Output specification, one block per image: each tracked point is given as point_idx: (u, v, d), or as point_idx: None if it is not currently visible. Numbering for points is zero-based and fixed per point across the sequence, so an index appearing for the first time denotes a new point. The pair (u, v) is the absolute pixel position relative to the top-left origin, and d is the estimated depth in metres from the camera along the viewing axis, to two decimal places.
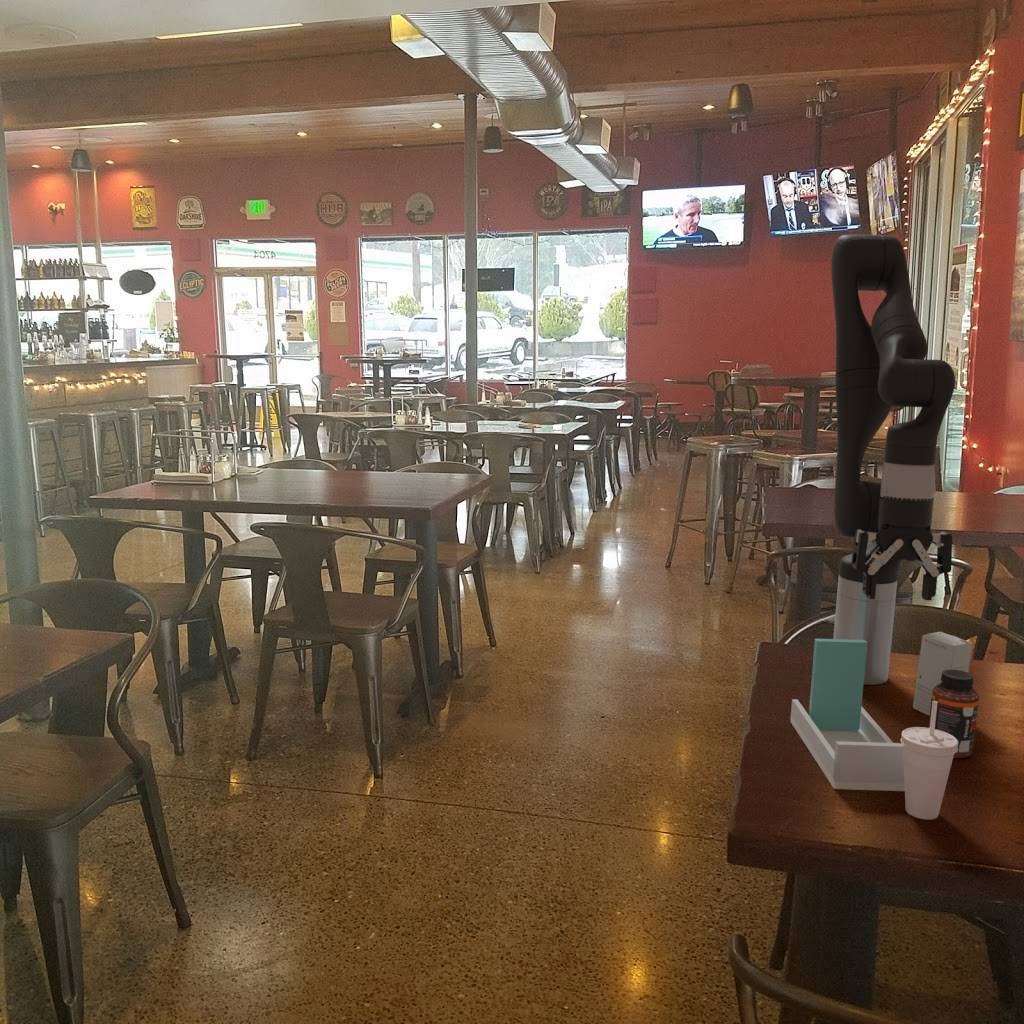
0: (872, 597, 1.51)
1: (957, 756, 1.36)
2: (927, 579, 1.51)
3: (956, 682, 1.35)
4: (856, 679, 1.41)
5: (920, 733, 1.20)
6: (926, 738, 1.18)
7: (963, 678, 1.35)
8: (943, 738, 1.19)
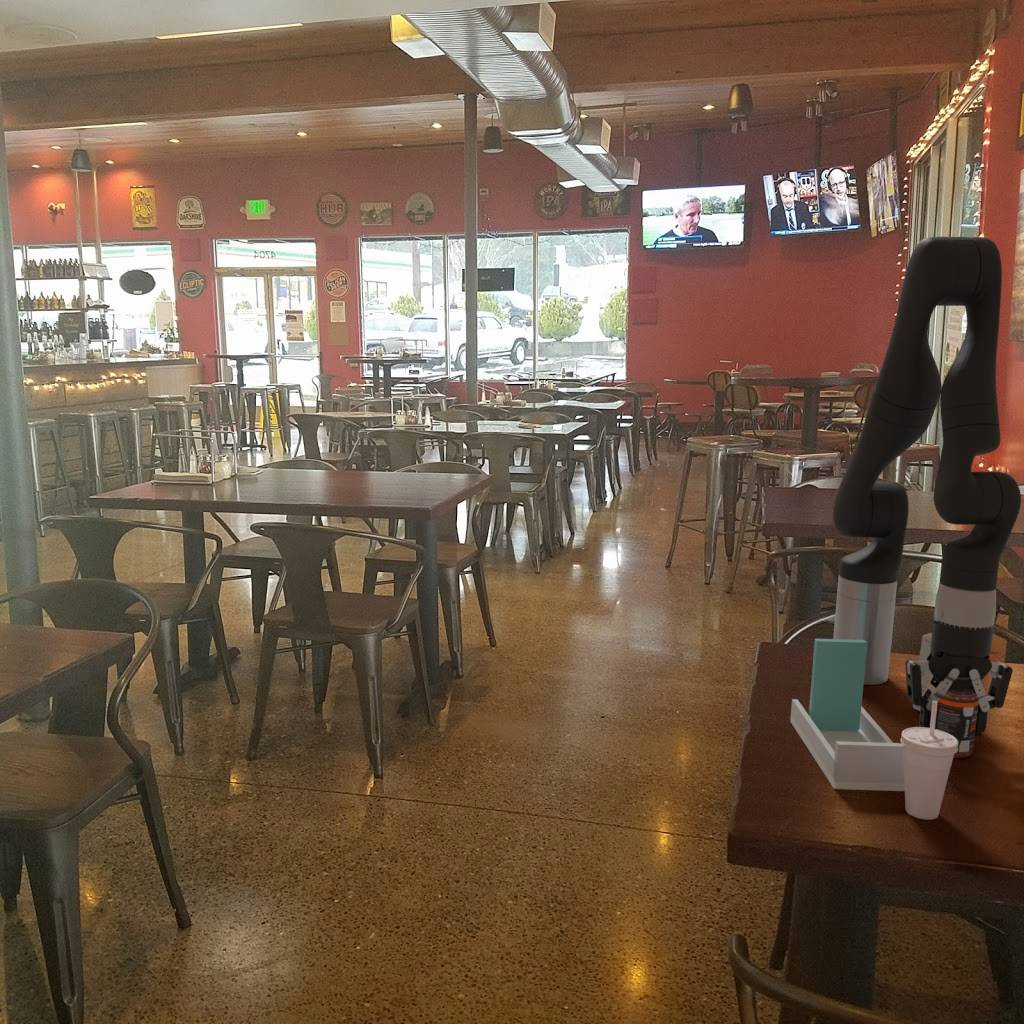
0: None
1: (957, 756, 1.36)
2: (977, 713, 1.37)
3: (956, 682, 1.35)
4: (856, 679, 1.41)
5: (920, 733, 1.20)
6: (926, 738, 1.18)
7: (963, 678, 1.35)
8: (943, 738, 1.19)
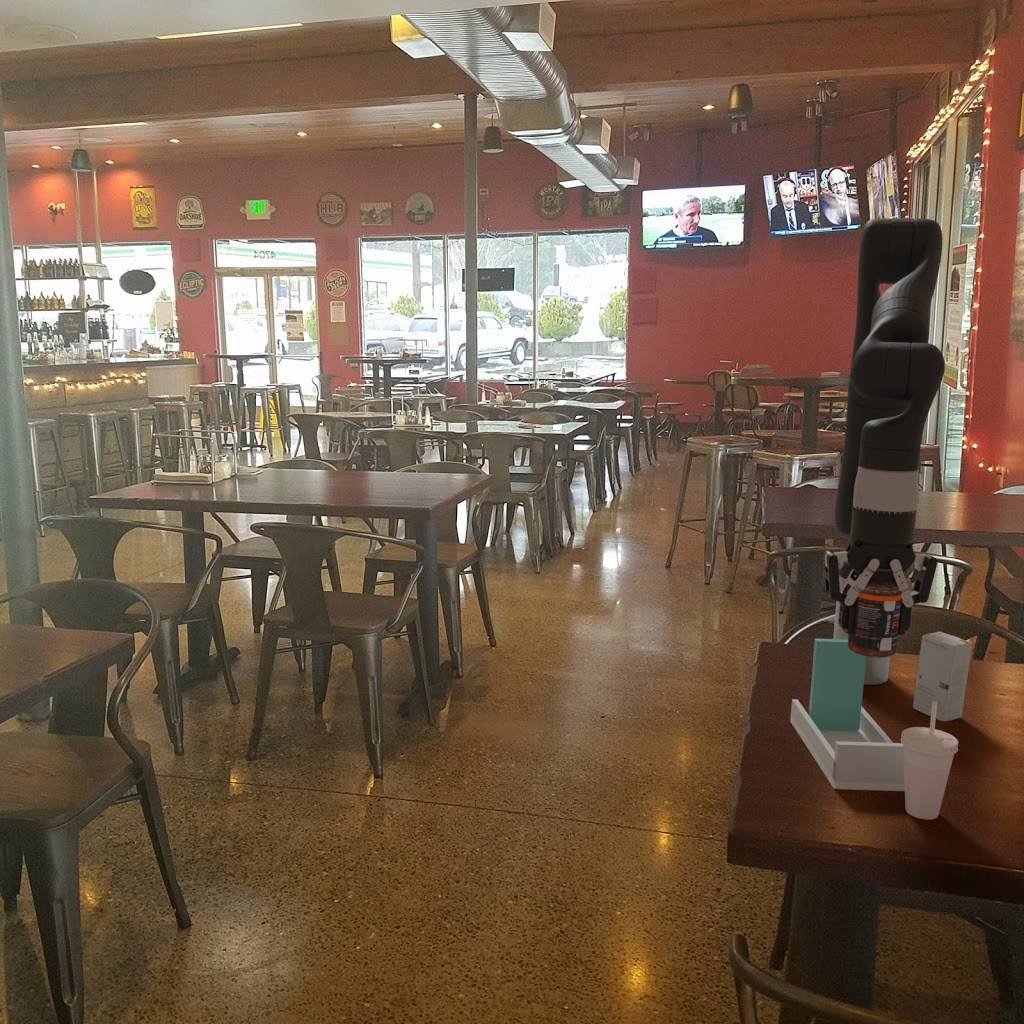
0: (849, 631, 1.27)
1: (878, 655, 1.25)
2: (900, 609, 1.26)
3: (877, 574, 1.24)
4: (856, 679, 1.41)
5: (920, 733, 1.20)
6: (926, 738, 1.18)
7: (884, 570, 1.24)
8: (943, 738, 1.19)
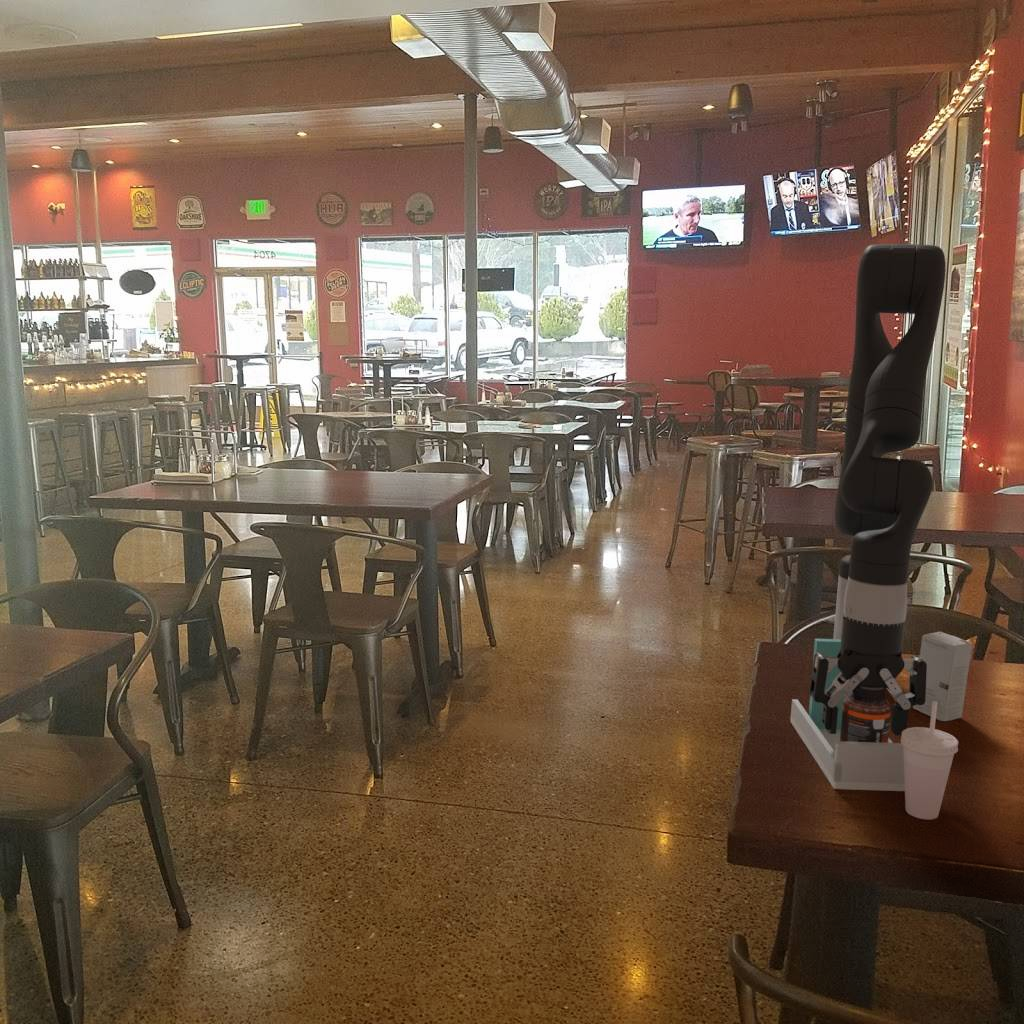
0: (832, 732, 1.29)
1: None
2: (897, 711, 1.29)
3: (866, 693, 1.27)
4: None
5: (920, 733, 1.20)
6: (926, 738, 1.18)
7: (873, 689, 1.27)
8: (943, 738, 1.19)
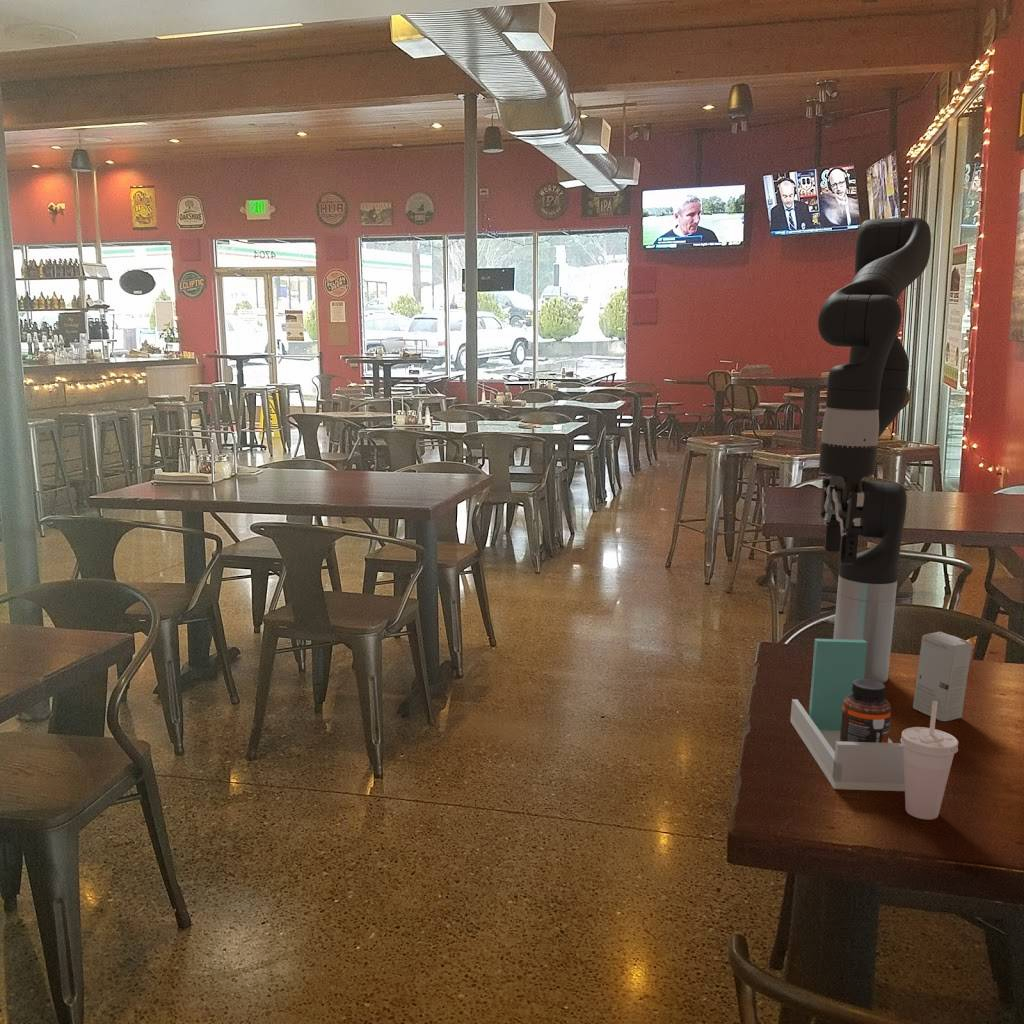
0: (824, 548, 1.46)
1: None
2: None
3: (866, 693, 1.27)
4: (856, 679, 1.41)
5: (920, 733, 1.20)
6: (926, 738, 1.18)
7: (873, 689, 1.27)
8: (943, 738, 1.19)
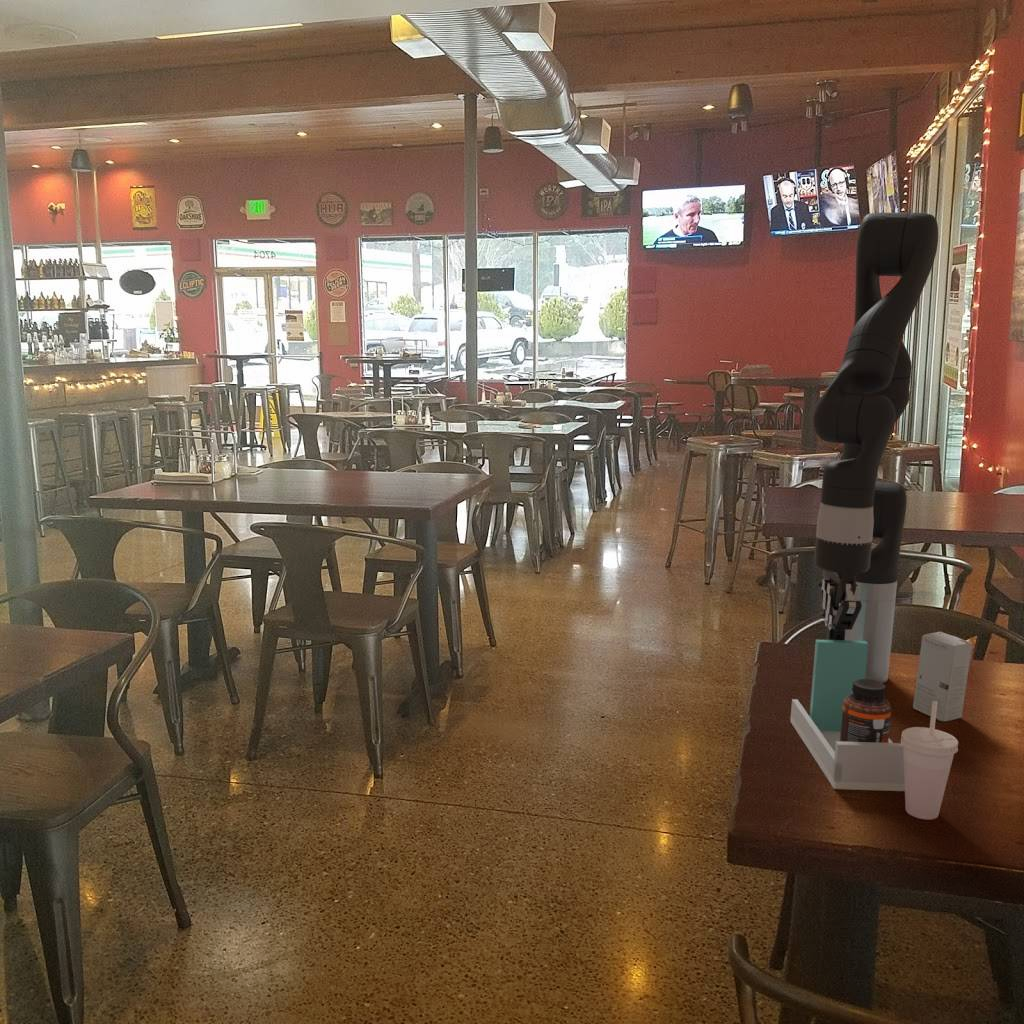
0: None
1: None
2: None
3: (866, 693, 1.27)
4: None
5: (920, 733, 1.20)
6: (926, 738, 1.18)
7: (873, 689, 1.27)
8: (943, 738, 1.19)
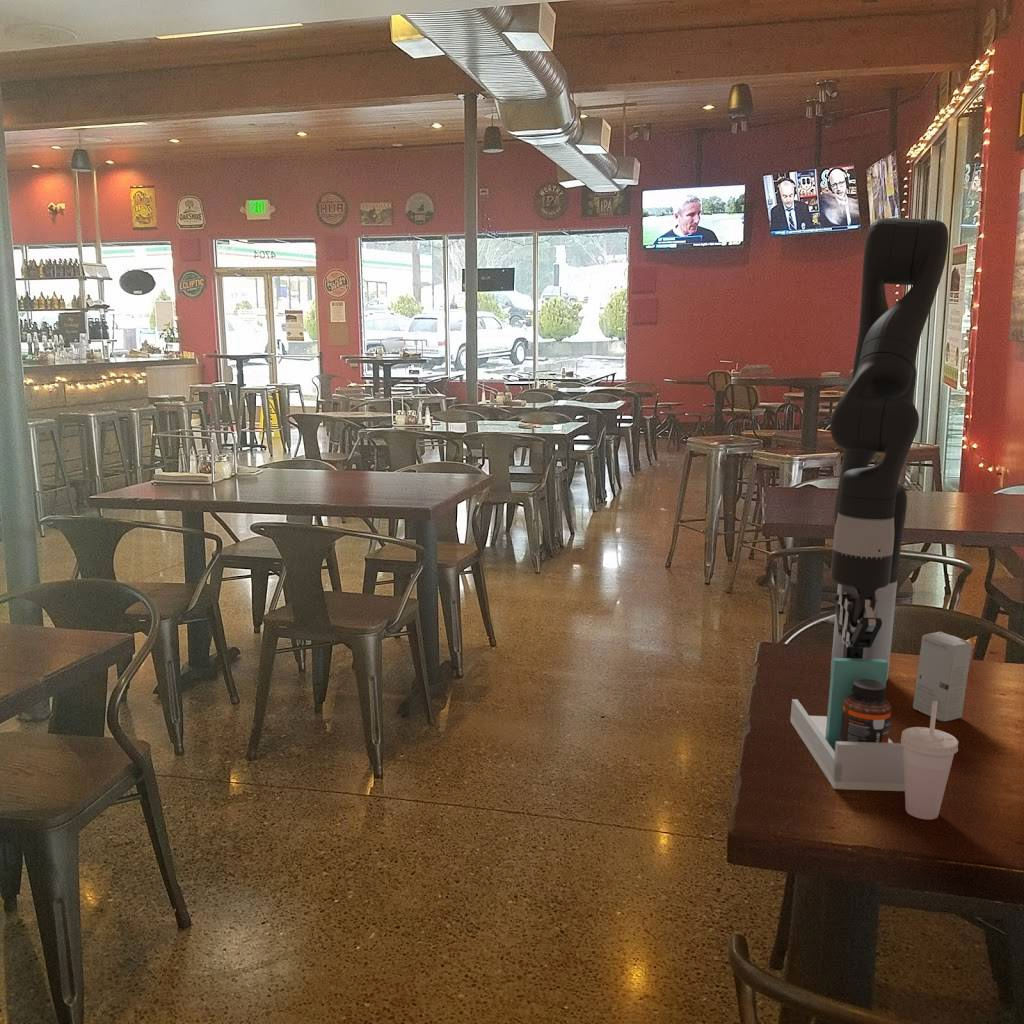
0: None
1: None
2: None
3: (866, 693, 1.27)
4: None
5: (920, 733, 1.20)
6: (926, 738, 1.18)
7: (873, 689, 1.27)
8: (943, 738, 1.19)
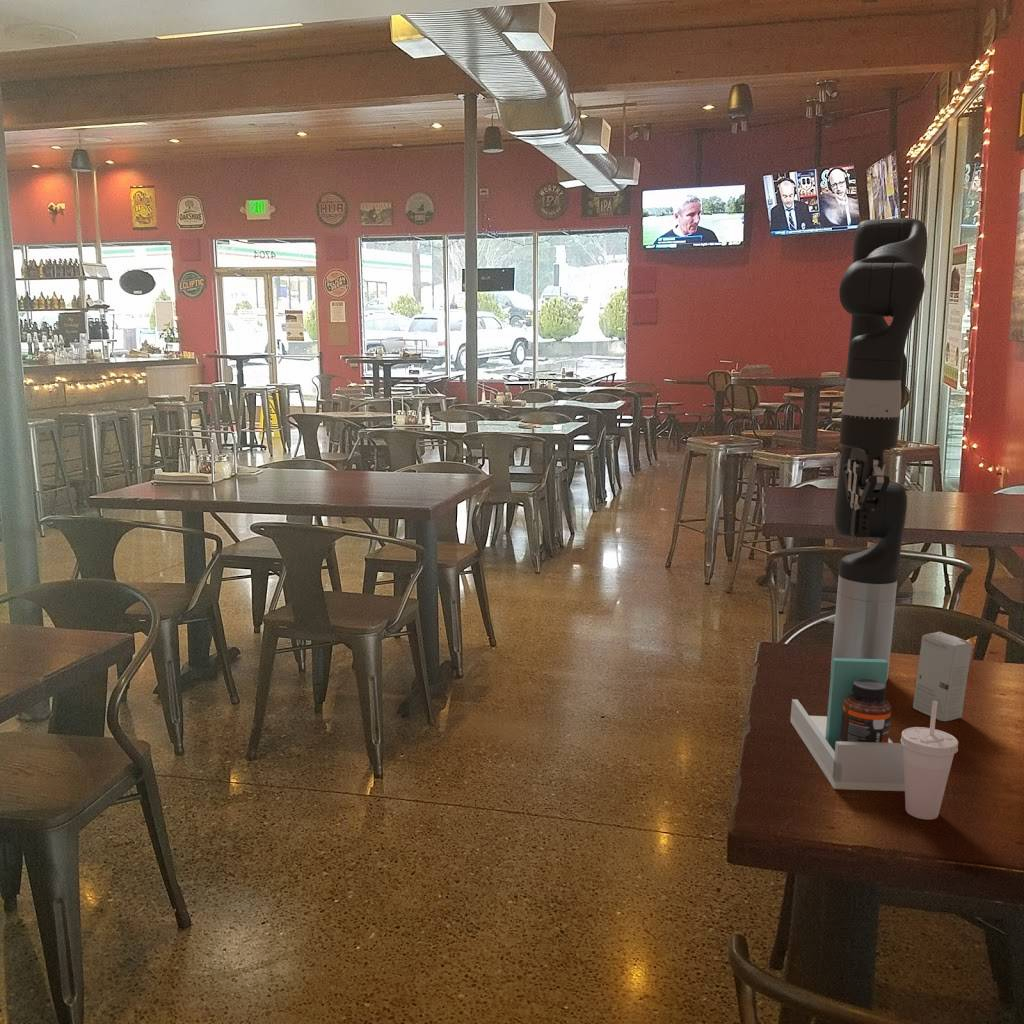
0: (851, 533, 1.40)
1: None
2: None
3: (866, 693, 1.27)
4: None
5: (920, 733, 1.20)
6: (926, 738, 1.18)
7: (873, 689, 1.27)
8: (943, 738, 1.19)
